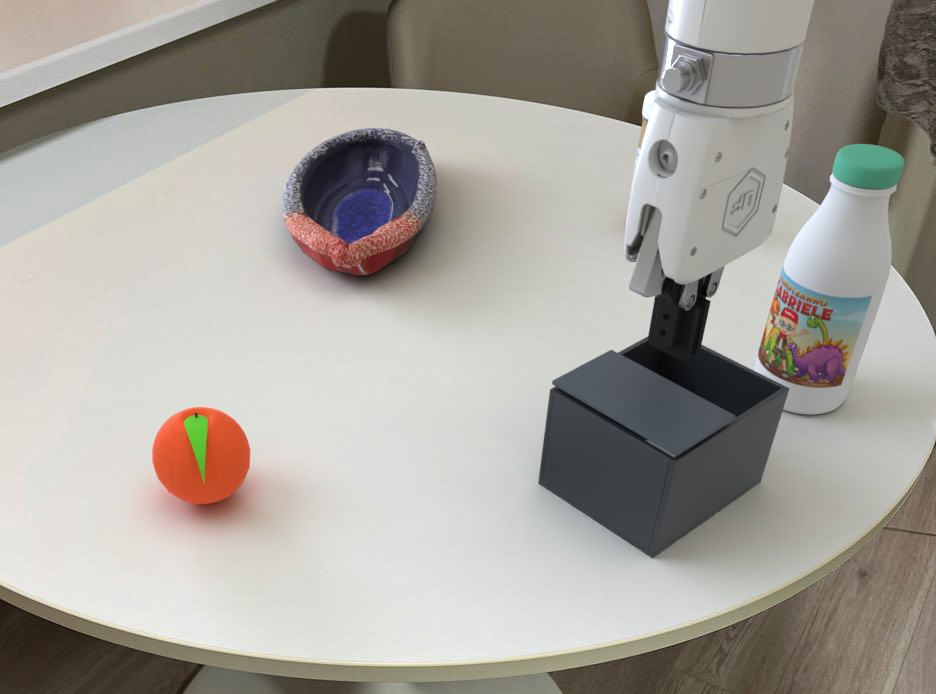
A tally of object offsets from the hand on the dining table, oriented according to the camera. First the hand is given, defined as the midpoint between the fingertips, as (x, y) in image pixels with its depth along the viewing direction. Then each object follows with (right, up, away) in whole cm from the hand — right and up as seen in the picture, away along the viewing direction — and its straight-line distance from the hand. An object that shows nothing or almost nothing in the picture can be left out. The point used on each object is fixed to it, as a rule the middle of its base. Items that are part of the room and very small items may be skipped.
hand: (673, 348), depth 71 cm
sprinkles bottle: (+7, +19, +39) cm, 44 cm away
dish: (-23, +20, +39) cm, 49 cm away
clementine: (-33, -10, +6) cm, 35 cm away
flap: (-2, -4, 0) cm, 4 cm away
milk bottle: (+15, -1, +17) cm, 22 cm away
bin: (0, -9, +7) cm, 11 cm away
